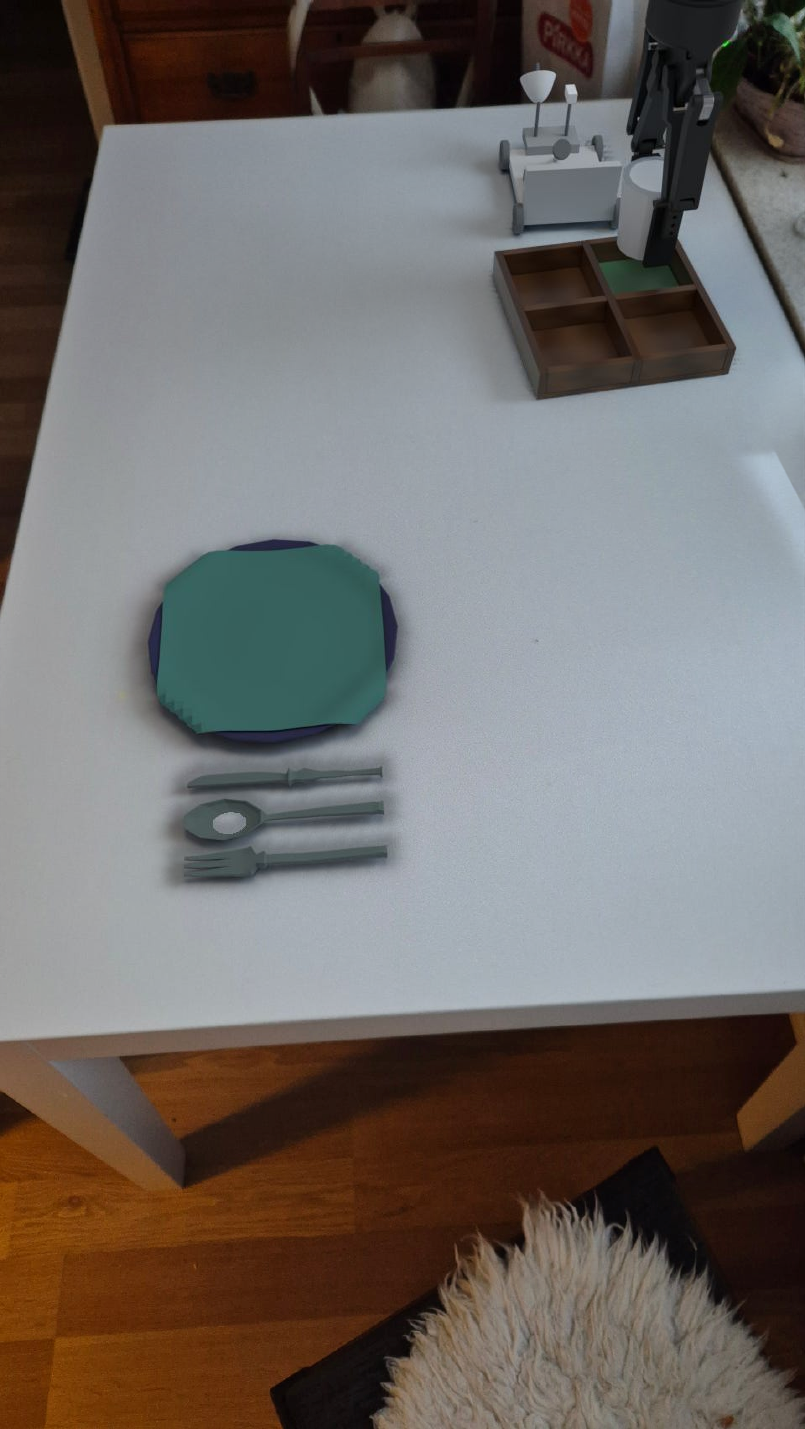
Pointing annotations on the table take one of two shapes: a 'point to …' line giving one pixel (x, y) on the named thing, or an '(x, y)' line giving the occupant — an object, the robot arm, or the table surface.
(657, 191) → the white cylinder canister
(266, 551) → the cutlery set
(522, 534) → the table surface
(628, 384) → the compartment tray
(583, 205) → the toy rover
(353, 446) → the table surface
